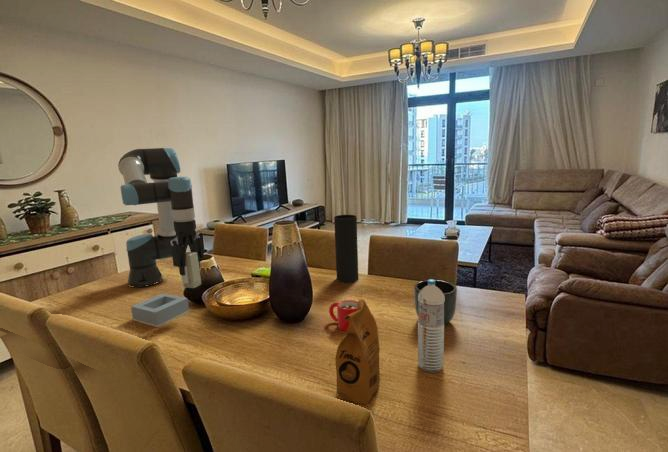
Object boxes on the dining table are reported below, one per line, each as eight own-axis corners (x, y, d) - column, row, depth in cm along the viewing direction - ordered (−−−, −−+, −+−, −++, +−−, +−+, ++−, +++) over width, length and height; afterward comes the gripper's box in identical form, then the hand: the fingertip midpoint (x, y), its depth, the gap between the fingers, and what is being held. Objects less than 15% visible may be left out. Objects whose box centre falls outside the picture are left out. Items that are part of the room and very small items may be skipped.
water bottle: (414, 360, 104) (414, 276, 99) (438, 358, 105) (439, 275, 100) (422, 374, 98) (422, 285, 93) (447, 372, 98) (449, 283, 93)
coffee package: (330, 398, 90) (326, 314, 86) (350, 371, 101) (348, 295, 96) (368, 409, 86) (365, 322, 81) (385, 379, 96) (384, 300, 92)
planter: (411, 328, 123) (411, 292, 120) (417, 311, 136) (417, 278, 133) (455, 334, 118) (456, 296, 116) (456, 315, 131) (457, 281, 128)
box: (201, 284, 140) (198, 252, 138) (194, 288, 136) (190, 255, 133) (190, 283, 142) (186, 251, 139) (182, 287, 138) (178, 254, 135)
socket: (165, 306, 151) (163, 293, 150) (189, 311, 144) (187, 298, 143) (133, 320, 139) (131, 306, 138) (157, 327, 132) (155, 312, 131)
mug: (335, 317, 134) (334, 296, 133) (364, 323, 128) (364, 302, 127) (323, 326, 128) (322, 304, 126) (354, 333, 122) (353, 311, 120)
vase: (358, 282, 168) (356, 218, 162) (336, 283, 168) (334, 219, 162) (357, 275, 178) (355, 214, 172) (336, 276, 178) (334, 215, 172)
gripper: (196, 214, 143) (202, 271, 148) (155, 224, 128) (164, 287, 133) (210, 216, 140) (216, 274, 145) (170, 225, 124) (178, 290, 129)
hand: (191, 280), depth 139 cm, fingers closed on box, 5 cm apart
